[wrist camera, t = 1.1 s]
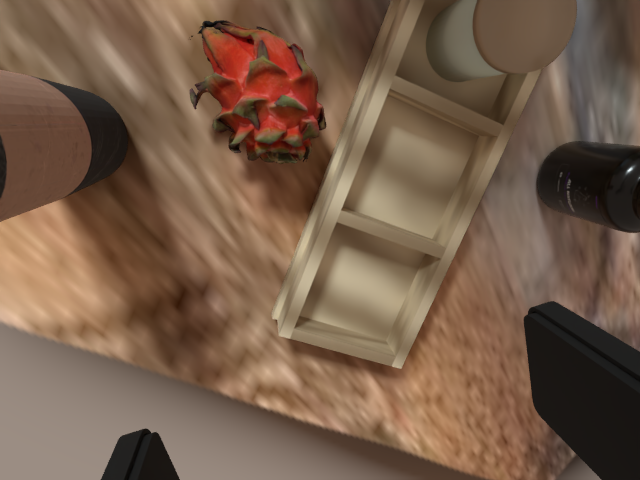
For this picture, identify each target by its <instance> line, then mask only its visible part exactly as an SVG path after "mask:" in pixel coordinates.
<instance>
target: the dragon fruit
mask: <svg viewBox="0 0 640 480" xmlns="http://www.w3.org/2000/svg"><path fill="white" fill-rule="evenodd" d="M201 27H202V29H201V30H200V31H199V33H201V34H202V38H203V49H204V52H205V54H206V56H207V59H208V61H210V62H211V64H212V66H213V69H214V74H212V75H210V76H208V77H205V79H204V82H201V83H198V84H195V86H196V88H197V89H198V90H199V92H198V93H197V95H196V94H195V92H194V91H193V89H190V98H191V102H192V104H193V106H194V108H195V109H196V105H197V103H198V101H199V99H200V97H201V95H202V94H203V93H205V92H209V93H210V94H211V95H212V96H213V97H214V98H215V99H217V100H218V101H219V103H220V104H221V106H222V112H221V113H220V114H219V115H218V116H216V117H215V119H214V123H213V128H214V130H215V131H216V132H218V133H222V132H224V131H226V130H229V131H231V132H233V133H232V135H231V136H230V139H229V149H230V150H231V151H233V152H234V153H239V152H241V151H240V150H239V145H240V143H241V142H246V144H247V150H246V151H247V155H248V159H249V160H251V161H252V160H256V159H257V158H258V157H260V158H261V159H262V160H264V161H265V162H275V161H276V162H277V163H279V164H283V163H289V162H291V163H297V160H295V159H296V158H298V159H299V160H301V159H302V158H303V157H304V160H305V159H307V158H308V156H309V154H310V153H311V151H312V144H311V142H310V138H315V137H318V136H319V130H323V129H325V128H326V122H325V117H324V109H323V106H322V105H321V104H319V103H318V102H317V100H316V97H317V93H318V82H317V78H316V75H315V74H314V72H313V71H312V69H311V68H310V67H308V65H307V64H306V62H305V60H304V55H303V50H302V49H301V48H300V47H299V46H298V45H296V44H292V45H290V44H289V43H288V42H286V41H285V40H283V39H282V38H280V37H278V36H277V35H275V34H274V33H272V32H271V31H269V30H268V31H266V30H267V29H264V28H261V27H257V29H259V30H253V29H248V28H244V27H241V26H239V25H237V24H235V23H232V22H229V21H224V20H222V21H215V22H213V23H212V22H210V21H204V22H203V26H201ZM206 27H214V28H215V29H218V30H220V31H221V32H222V33H217V32H216V31H214V30H210V29H206ZM199 33H198V34H199ZM191 38H192V36H191ZM319 118H320V119H319ZM317 119H319V120H317ZM226 124H227V125H230V126H231V127H232V128H233V129H234V130H233V129H232V128H231V127H229V126H227V125H226ZM304 160H303V161H304Z"/></svg>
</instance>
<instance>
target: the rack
mask: <svg viewBox="0 0 640 480" xmlns="http://www.w3.org/2000/svg"><path fill="white" fill-rule="evenodd" d="M456 1H458V0H391V2H390V5H389V7H388V10H387V13H386V15H385V18H384V20H383V23H382V26H381V28H380V31H379V34H378V36H377V39H376V41H375V44H374V47H373V49H372V52H371V54H370V57H369V60H368V62H367V65H366V68H365V70H364V73H363V75H362V78H361V81H360V83H359V86H358V88H357V91H356V94H355V96H354V99H353V101H352V104H351V107H350V109H349V112H348V115H347V117H346V120H345V122H344V125H343V128H342V130H341V133H340V135H339V138H338V141H337V143H336V146H335V149H334V151H333V154H332V156H331V159H330V162H329V164H328V167H327V169H326V172H325V175H324V177H323V180H322V183H321V185H320V188H319V190H318V193H317V196H316V198H315V201H314V203H313V206H312V209H311V211H310V214H309V216H308V219H307V222H306V224H305V227H304V230H303V232H302V235H301V237H300V240H299V243H298V245H297V248H296V250H295V253H294V256H293V258H292V261H291V264H290V266H289V269H288V271H287V274H286V277H285V279H284V282H283V284H282V287H281V290H280V292H279V295H278V298H277V300H276V303H275V305H274V308H273V311H272V319H276V320H277V322H278V331H279V336H282V337H285V338H289V339H293V340H296V341H300V342H304V343H307V344H311V345H315V346H318V347H322V348H326V349H329V350H333V351H337V352H341V353H344V354H348V355H352V356H355V357H359V358H363V359H366V360H370V361H374V362H377V363H381V364H385V365H388V366H392V367H396V368H399V369H401V368H402V366H403V364H404V362H405V360H406V357H407V355H408V353H409V351H410V349H411V347H412V345H413V343H414V340H415V338H416V336H417V334H418V332H419V330H420V328H421V326H422V323H423V321H424V319H425V317H426V315H427V313H428V311H429V309H430V306H431V304H432V302H433V300H434V298H435V296H436V294H437V292H438V290H439V287H440V285H441V283H442V281H443V279H444V277H445V275H446V273H447V270H448V268H449V266H450V264H451V262H452V260H453V258H454V256H455V253H456V251H457V249H458V247H459V245H460V243H461V241H462V239H463V236H464V234H465V232H466V230H467V228H468V226H469V224H470V222H471V219H472V217H473V215H474V213H475V211H476V209H477V207H478V205H479V202H480V200H481V198H482V196H483V194H484V192H485V190H486V188H487V185H488V183H489V181H490V179H491V177H492V175H493V173H494V171H495V168H496V166H497V164H498V162H499V160H500V158H501V156H502V154H503V151H504V149H505V147H506V145H507V143H508V141H509V139H510V137H511V134H512V132H513V130H514V128H515V126H516V124H517V122H518V120H519V118H520V115H521V113H522V111H523V109H524V107H525V105H526V103H527V101H528V98H529V96H530V94H531V92H532V90H533V88H534V86H535V84H536V81H537V79H538V77H539V75H540V73H541V71H542V69H543V68H542V69H539V70H536V71H533V72H528V73H523V74H501V75H496V76H490V77H485V78H480V79H475V80H470V81H465V82H451V81H448V80H445V79H443V78H442V77H440V76H439V75H438V74H437V73H436V72H435V71H434V70H433V68H432V67H431V65H430V63H429V60H428V57H427V53H426V38H427V33H428V30H429V27H430V25H431V23H432V22H433V20H434V18H435V17H436V16H437V15H438V14H439V13H440V12H441V11H442V10H443V9H445V8H446V7H448V6H450V5H451V4H453V3H455V2H456Z"/></svg>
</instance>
